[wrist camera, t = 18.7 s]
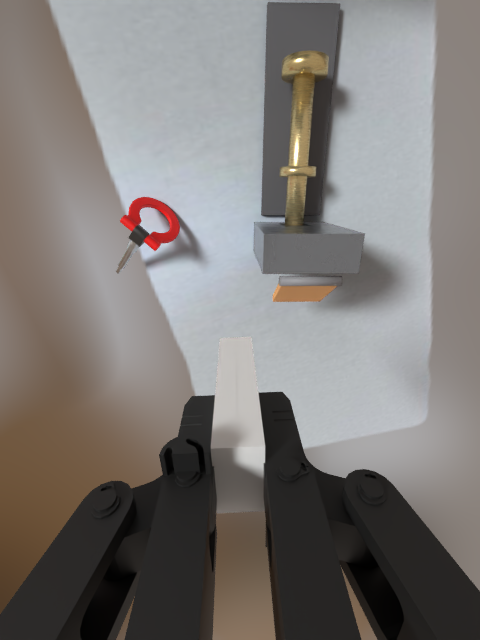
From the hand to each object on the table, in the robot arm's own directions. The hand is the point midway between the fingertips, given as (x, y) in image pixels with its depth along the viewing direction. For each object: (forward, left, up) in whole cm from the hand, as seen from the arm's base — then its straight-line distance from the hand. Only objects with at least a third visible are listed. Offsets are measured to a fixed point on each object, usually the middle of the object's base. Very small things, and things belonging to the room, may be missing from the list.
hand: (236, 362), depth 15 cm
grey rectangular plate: (-2, +8, -32) cm, 33 cm away
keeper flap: (+1, +8, -18) cm, 19 cm away
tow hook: (-3, -12, -34) cm, 36 cm away
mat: (-16, +8, -32) cm, 36 cm away
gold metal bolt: (-11, +8, -32) cm, 34 cm away
